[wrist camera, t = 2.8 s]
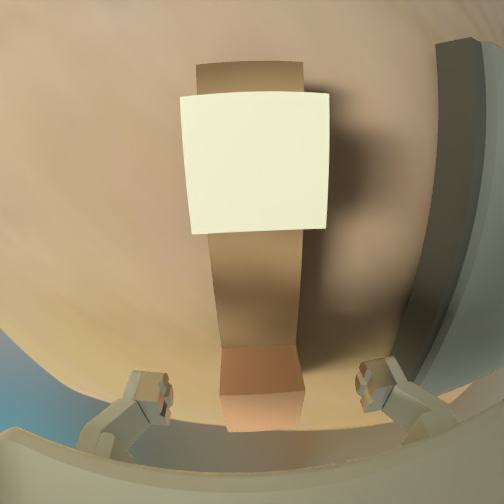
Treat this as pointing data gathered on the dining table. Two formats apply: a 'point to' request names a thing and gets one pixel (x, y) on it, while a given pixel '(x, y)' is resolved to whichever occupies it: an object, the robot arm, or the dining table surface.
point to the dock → (461, 230)
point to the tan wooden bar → (255, 234)
